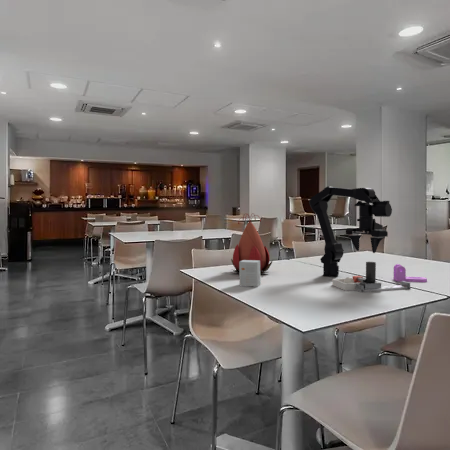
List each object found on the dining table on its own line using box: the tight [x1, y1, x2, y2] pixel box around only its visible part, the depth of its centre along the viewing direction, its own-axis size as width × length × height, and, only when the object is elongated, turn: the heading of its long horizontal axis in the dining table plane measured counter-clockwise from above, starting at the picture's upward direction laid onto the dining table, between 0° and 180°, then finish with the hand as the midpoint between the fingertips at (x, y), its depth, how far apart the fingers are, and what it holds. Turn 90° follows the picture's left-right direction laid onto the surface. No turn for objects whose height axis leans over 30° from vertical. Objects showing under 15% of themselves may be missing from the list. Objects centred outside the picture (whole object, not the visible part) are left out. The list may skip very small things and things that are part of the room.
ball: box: [344, 276, 354, 283], centre depth 155 cm, size 4×4×4 cm
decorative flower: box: [230, 213, 274, 274], centre depth 188 cm, size 22×23×30 cm
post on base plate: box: [352, 261, 382, 289], centre depth 152 cm, size 7×11×11 cm, turn 12°
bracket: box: [393, 263, 428, 283], centre depth 166 cm, size 13×6×7 cm, turn 78°
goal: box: [332, 278, 360, 291], centre depth 155 cm, size 7×10×2 cm
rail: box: [355, 281, 411, 293], centre depth 150 cm, size 22×4×2 cm, turn 102°
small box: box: [238, 260, 262, 288], centre depth 160 cm, size 8×6×10 cm
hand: (365, 251), depth 166 cm, fingers open, 9 cm apart
